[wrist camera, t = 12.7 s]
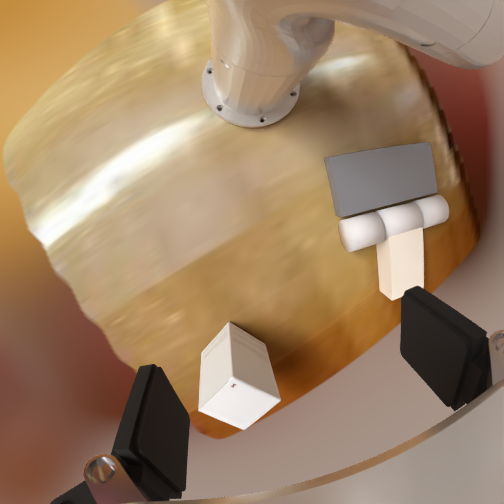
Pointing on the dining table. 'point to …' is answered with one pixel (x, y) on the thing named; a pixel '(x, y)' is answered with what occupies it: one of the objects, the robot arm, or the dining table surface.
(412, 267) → the cream hinge flap
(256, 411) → the supplement box
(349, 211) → the fixed leaf
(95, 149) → the dining table surface
